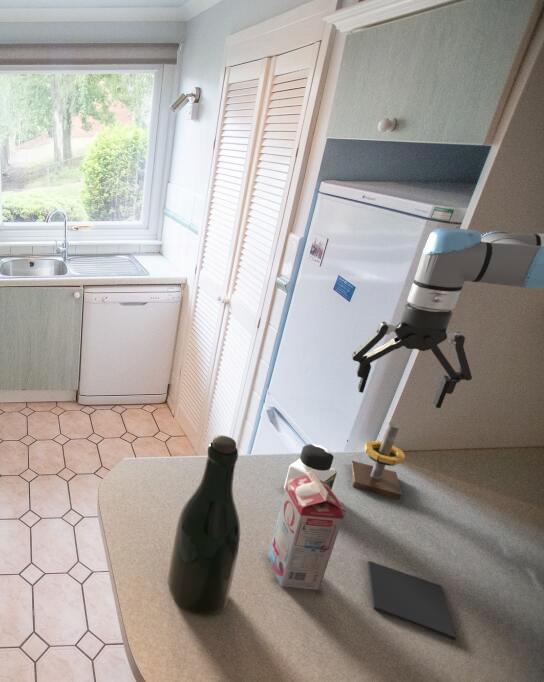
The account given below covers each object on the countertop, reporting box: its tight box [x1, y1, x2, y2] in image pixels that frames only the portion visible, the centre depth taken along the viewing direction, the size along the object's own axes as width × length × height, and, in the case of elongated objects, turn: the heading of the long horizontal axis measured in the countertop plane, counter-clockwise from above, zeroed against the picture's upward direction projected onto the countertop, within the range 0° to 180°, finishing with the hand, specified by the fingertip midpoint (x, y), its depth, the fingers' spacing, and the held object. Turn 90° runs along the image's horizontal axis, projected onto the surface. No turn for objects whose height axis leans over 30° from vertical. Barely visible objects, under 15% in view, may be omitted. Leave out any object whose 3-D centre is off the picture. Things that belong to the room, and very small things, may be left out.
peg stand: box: [350, 422, 403, 501], centre depth 105 cm, size 9×9×16 cm
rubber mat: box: [367, 560, 457, 640], centre depth 80 cm, size 11×11×1 cm
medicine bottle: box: [283, 443, 338, 491], centre depth 103 cm, size 7×7×12 cm
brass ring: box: [364, 440, 406, 466], centre depth 105 cm, size 7×7×1 cm
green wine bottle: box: [167, 435, 241, 617], centre depth 76 cm, size 10×10×33 cm
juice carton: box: [267, 467, 346, 591], centre depth 81 cm, size 7×7×22 cm
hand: (397, 397), depth 100 cm, fingers open, 13 cm apart
